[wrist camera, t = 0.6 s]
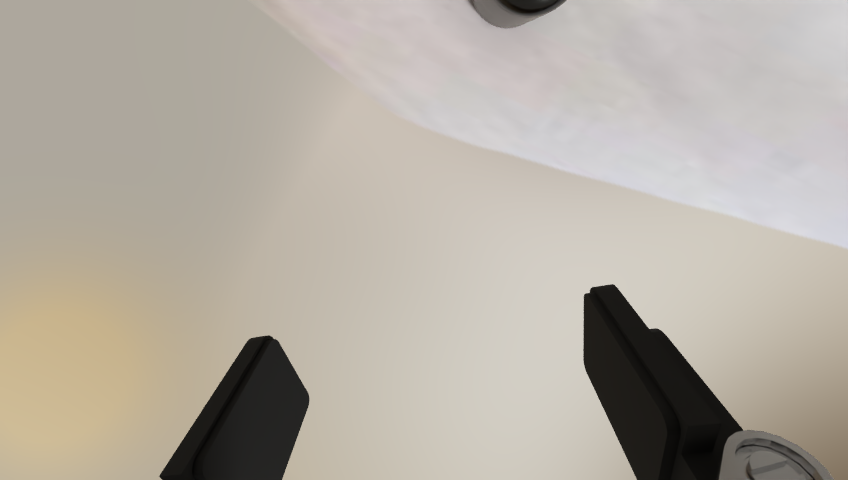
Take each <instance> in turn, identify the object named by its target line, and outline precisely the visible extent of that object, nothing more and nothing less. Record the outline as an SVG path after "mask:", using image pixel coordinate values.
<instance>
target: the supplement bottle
mask: <svg viewBox="0 0 848 480" xmlns="http://www.w3.org/2000/svg"><path fill="white" fill-rule="evenodd" d="M472 1H473V4H474V6H475V8H476V10H477V12H478V13H479V14H480V16H481V17H482V18H483V19H484V20H485V21H487V22H488V23H490V24H491V25H493V26H496V27H500V28H513V27H517V26H520V25H523V24H525V23H527V22H530V21H532V20H534V19H536V18H538V17H541V16H543V15H545V14H547V13H549V12H551V11H553V10H555V9H556V8H557V7H559V6H560V5H562V4H563V3H564V2H565V1H566V0H472Z"/></svg>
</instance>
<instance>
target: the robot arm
mask: <svg viewBox="0 0 848 480" xmlns="http://www.w3.org/2000/svg"><path fill="white" fill-rule="evenodd" d="M584 365H585V369H586V372H587V374H588V376H589V378H590V380H591V383H592V385H593V387H594V389H595V391H596V393H597V395H598V398H599V400H600V402H601V404H602V406H603V408H604V410H605V412H606V415H607V417H608V419H609V421H610V423H611V425H612V427H613V429H614V431H615V434H616V436H617V438H618V440H619V442H620V444H621V446H622V448H623V451H624V453H625V455H626V457H627V459H628V461H629V463H630V465H631V467H632V470H633V472H634V474H635V476H636V478H637V480H834V479H833V478H832V476H831V475H830V473H829V472H828V470H827V469H826V468H825V467H824V466H823V465H822V464H821V463H820V462H819V461H818V460H817V459H816V458H814V456H812V455H811V454H809V453H808V452H806V451H805V450H803V449H802V448H801V447H799V446H798V445H796V444H794V443H792V442H790V441H788V440H786V439H784V438H782V437H780V436H777V435H773V434H770V433H767V432H764V431H754V430H745V431H743V429H742V428H741V427H740V426H739V424H738V423H737V422H736V421H735V420H734V418H733V417H732V416H731V415H730V413H729V412H728V411H727V410H726V408H725V407H724V406H723V405H722V404H721V402H720V401H719V400H718V399H717V398H716V396H715V395H714V394H713V392H712V391H711V390H710V389H709V388H708V386H707V385H706V384H705V383H704V381H703V380H702V379H701V378H700V377H699V375H698V374H697V373H696V372H695V370H694V369H693V368H692V367H691V365H690V364H689V363H688V362H687V361H686V359H685V358H684V357H683V356H682V354H681V353H680V352H679V351H678V349H677V348H676V347H675V346H674V345H673V343H672V342H671V341H670V340H669V338H668V337H667V336H666V335H665V334H664V333H663V332H662V331H661V330H659V329H649V328H648V327H647V326H646V325H645V323H644V322H643V321H642V319H641V318H640V317H639V316H638V314H637V313H636V312H635V310H634V309H633V308H632V306H631V305H630V304H629V303H628V302H627V300H626V299H625V297H624V296H623V295H622V293H621V292H620V291H619V290H618V288H617V287H616V286H615V285H613V284H612V285H605V286H599V287H592V288H591V290H590V293H587V294H585V295H584ZM308 405H309V395H308V392H307V391H306V389H305V387H304V385H303V384H302V382H301V380H300V379H299V377H298V375H297V373H296V371H295V370H294V368H293V366H292V364H291V363H290V361H289V359H288V357H287V356H286V354H285V352H284V351H283V349H282V347H281V346H280V344H279V342H278V341H277V340H276V339H273V337H271V336H262V337H256V338H251V339H249V340H248V341H247V343H246V344H245V346H244V347H243V349H242V350H241V352H240V353H239V355H238V357H237V358H236V359H235V361H234V362H233V364H232V366H231V367H230V369H229V370H228V372H227V373H226V375H225V376H224V378H223V380H222V381H221V382H220V384H219V385H218V387H217V389H216V390H215V392H214V393H213V395H212V396H211V398H210V400H209V401H208V402H207V404H206V405H205V407H204V409H203V410H202V412H201V413H200V415H199V416H198V418H197V419H196V421H195V422H194V424H193V425H192V427H191V428H190V430H189V431H188V433H187V434H186V436H185V438H184V439H183V441H182V442H181V444H180V445H179V447H178V448H177V450H176V451H175V453H174V454H173V456H172V458H171V459H170V461H169V462H168V464H167V465H166V467H165V468H164V470H163V471H162V473H161V474H160V478H161V479H162V480H282V478H283V475H284V472H285V469H286V467H287V464H288V461H289V458H290V455H291V453H292V450H293V447H294V444H295V441H296V439H297V436H298V433H299V431H300V428H301V425H302V422H303V419H304V417H305V414H306V411H307V408H308Z"/></svg>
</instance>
